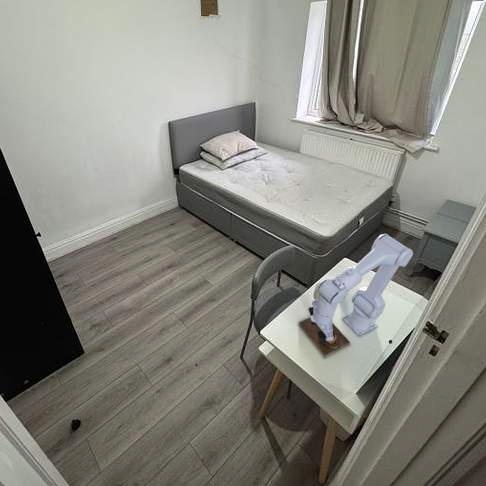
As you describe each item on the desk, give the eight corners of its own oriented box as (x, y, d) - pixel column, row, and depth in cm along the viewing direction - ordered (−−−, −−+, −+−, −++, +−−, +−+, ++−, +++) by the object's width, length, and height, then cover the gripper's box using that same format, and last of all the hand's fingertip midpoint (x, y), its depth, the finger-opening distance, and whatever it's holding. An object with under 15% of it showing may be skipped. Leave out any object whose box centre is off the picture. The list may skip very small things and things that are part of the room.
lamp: (317, 306, 120) (325, 279, 110) (328, 319, 115) (337, 291, 105) (304, 312, 118) (312, 285, 108) (315, 325, 113) (324, 297, 103)
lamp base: (321, 313, 121) (323, 308, 119) (349, 344, 110) (351, 339, 108) (298, 324, 117) (300, 319, 115) (324, 357, 106) (326, 352, 104)
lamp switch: (330, 333, 110) (331, 330, 109) (337, 341, 107) (338, 338, 106) (323, 337, 109) (324, 334, 108) (329, 345, 106) (331, 342, 105)
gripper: (306, 292, 101) (300, 316, 109) (321, 330, 89) (313, 353, 97) (326, 291, 101) (319, 315, 109) (343, 329, 89) (334, 352, 97)
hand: (317, 333), depth 103 cm, fingers open, 7 cm apart
